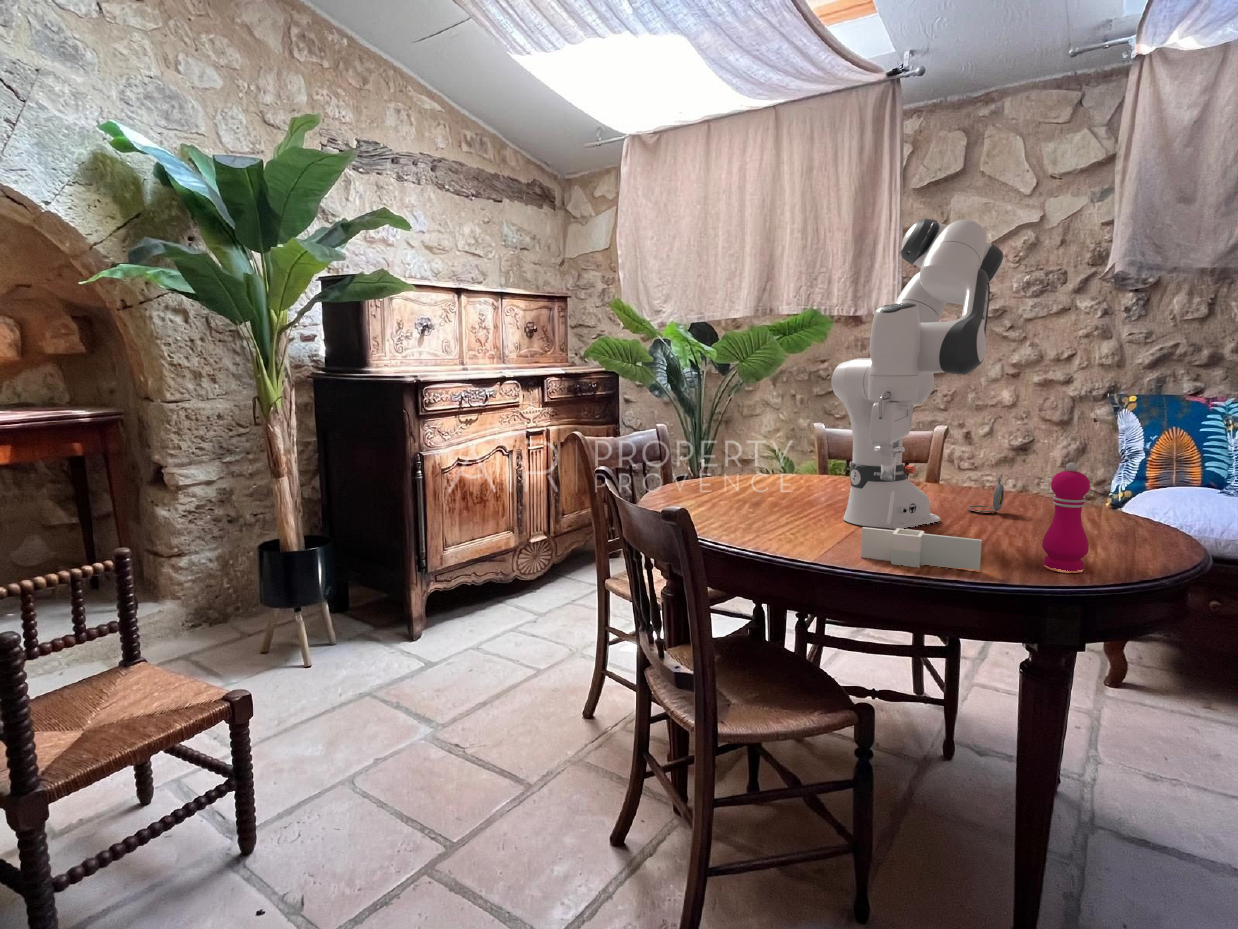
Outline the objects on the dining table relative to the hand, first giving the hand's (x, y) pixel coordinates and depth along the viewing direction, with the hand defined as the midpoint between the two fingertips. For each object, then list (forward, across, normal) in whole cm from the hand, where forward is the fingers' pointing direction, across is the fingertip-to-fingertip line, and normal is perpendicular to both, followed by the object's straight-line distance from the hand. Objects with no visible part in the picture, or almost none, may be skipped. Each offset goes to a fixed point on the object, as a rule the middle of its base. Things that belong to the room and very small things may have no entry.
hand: (889, 463), depth 133 cm
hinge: (+19, 0, -6) cm, 20 cm away
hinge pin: (+3, 0, 0) cm, 3 cm away
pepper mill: (+19, +10, -30) cm, 37 cm away
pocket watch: (+19, +56, -14) cm, 60 cm away
